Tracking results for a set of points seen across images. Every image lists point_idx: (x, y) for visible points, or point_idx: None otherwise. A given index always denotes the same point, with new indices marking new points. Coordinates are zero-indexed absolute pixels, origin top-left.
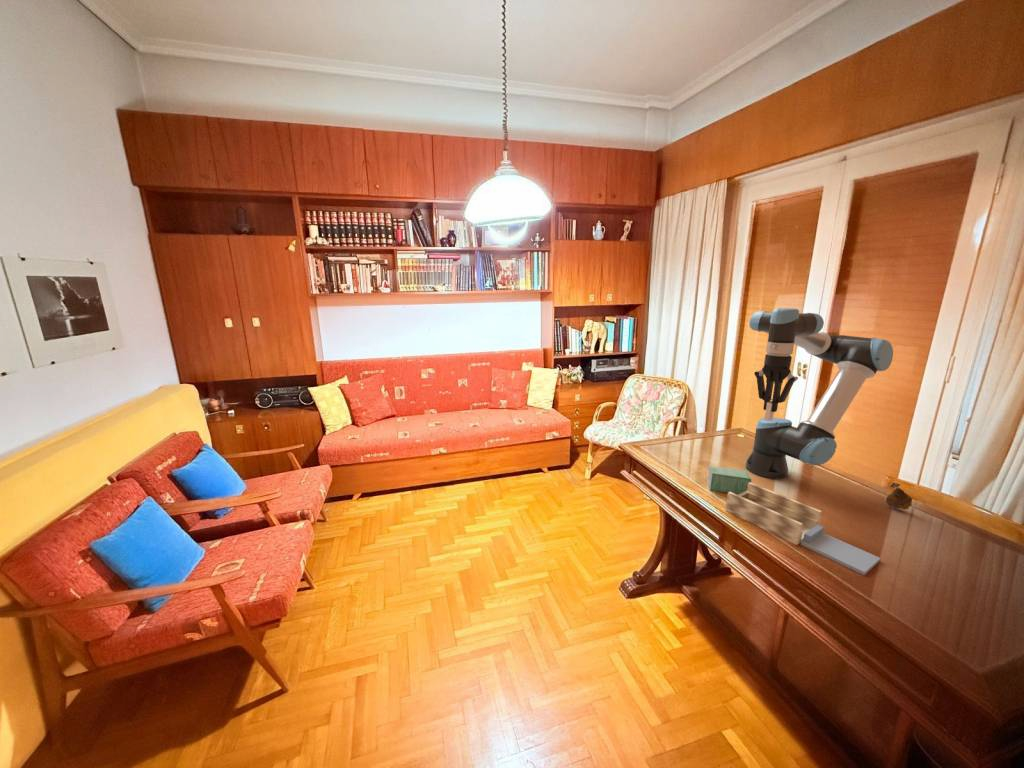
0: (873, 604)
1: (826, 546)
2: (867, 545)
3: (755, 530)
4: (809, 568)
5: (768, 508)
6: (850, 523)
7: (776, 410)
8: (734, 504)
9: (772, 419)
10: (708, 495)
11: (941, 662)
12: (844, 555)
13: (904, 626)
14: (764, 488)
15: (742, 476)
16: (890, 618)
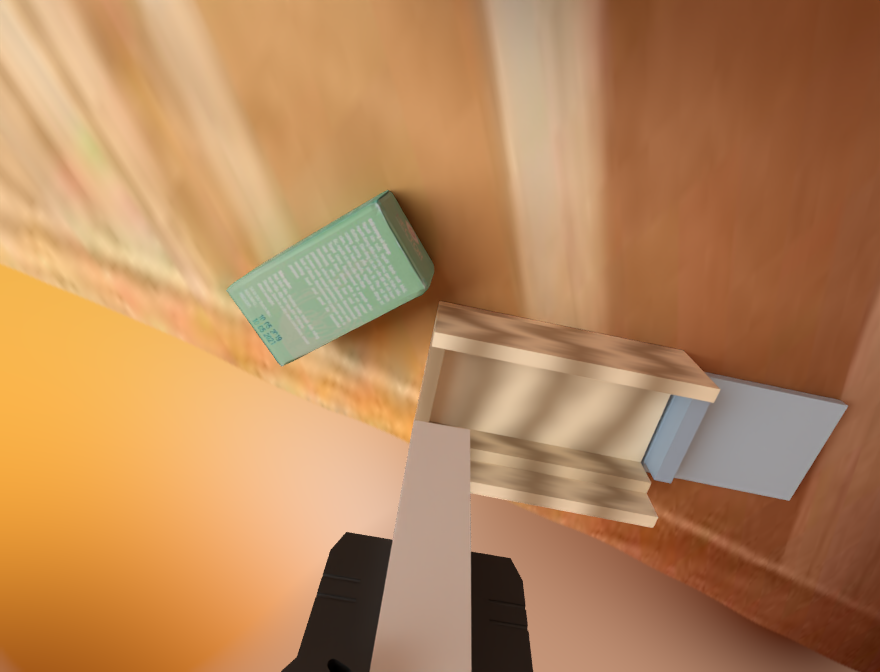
0: (781, 578)
1: (706, 448)
2: (826, 331)
3: None
4: (661, 547)
5: (549, 496)
6: (800, 200)
7: (517, 594)
8: None
9: (468, 431)
10: (324, 373)
11: (858, 645)
12: (750, 459)
13: (824, 602)
14: (501, 348)
15: (389, 298)
16: (804, 596)
